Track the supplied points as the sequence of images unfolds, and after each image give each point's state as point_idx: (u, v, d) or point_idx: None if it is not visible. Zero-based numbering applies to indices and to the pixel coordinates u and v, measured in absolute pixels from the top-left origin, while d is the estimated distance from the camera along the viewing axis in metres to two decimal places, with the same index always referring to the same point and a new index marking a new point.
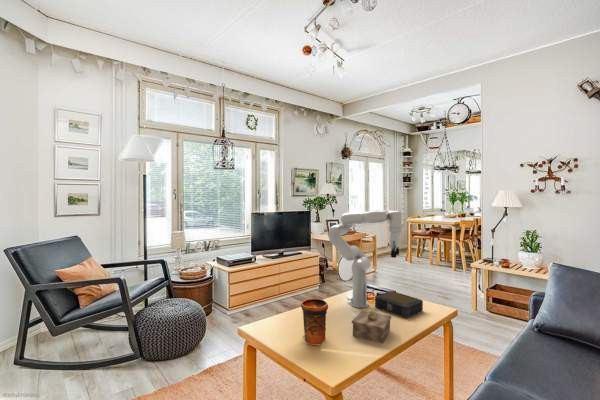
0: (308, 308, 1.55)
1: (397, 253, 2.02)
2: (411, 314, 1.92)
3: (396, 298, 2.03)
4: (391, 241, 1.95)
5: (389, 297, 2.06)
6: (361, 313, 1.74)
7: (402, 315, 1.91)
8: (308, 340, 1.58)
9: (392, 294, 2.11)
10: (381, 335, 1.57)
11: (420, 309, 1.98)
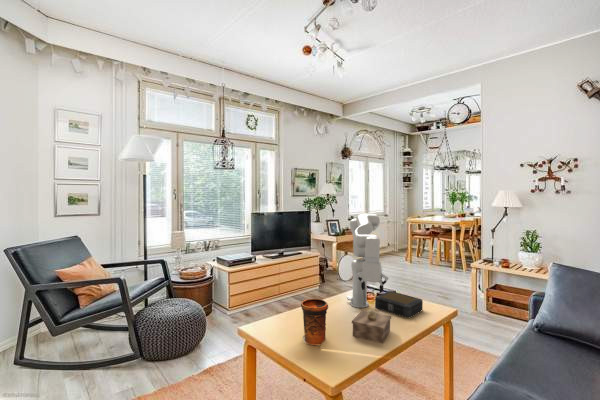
0: (308, 308, 1.55)
1: (364, 287, 1.69)
2: (412, 314, 1.92)
3: (396, 298, 2.03)
4: (380, 274, 1.63)
5: (389, 297, 2.05)
6: (361, 313, 1.74)
7: (404, 315, 1.91)
8: (308, 340, 1.58)
9: (391, 294, 2.11)
10: (381, 335, 1.57)
11: (420, 308, 1.99)
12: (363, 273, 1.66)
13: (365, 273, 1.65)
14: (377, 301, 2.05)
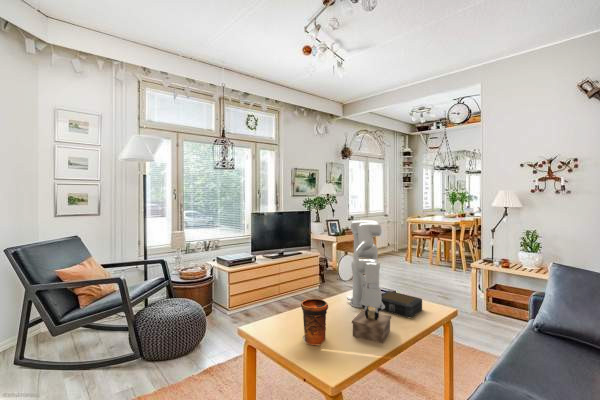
0: (308, 308, 1.55)
1: None
2: (414, 313, 1.93)
3: (397, 298, 2.03)
4: (380, 300, 1.63)
5: (389, 297, 2.05)
6: (361, 313, 1.74)
7: (406, 315, 1.91)
8: (308, 340, 1.58)
9: (391, 294, 2.11)
10: (381, 335, 1.57)
11: (420, 307, 2.00)
12: (363, 298, 1.66)
13: (365, 298, 1.66)
14: None
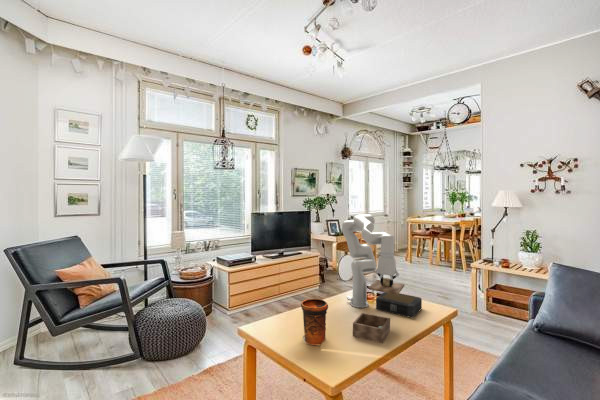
0: (308, 308, 1.55)
1: None
2: (415, 313, 1.94)
3: (397, 298, 2.03)
4: (395, 268, 1.77)
5: (390, 297, 2.05)
6: (377, 282, 1.89)
7: (408, 315, 1.91)
8: (308, 340, 1.58)
9: (390, 294, 2.11)
10: (381, 335, 1.57)
11: (420, 306, 2.02)
12: (378, 267, 1.81)
13: (380, 267, 1.80)
14: (378, 302, 2.03)
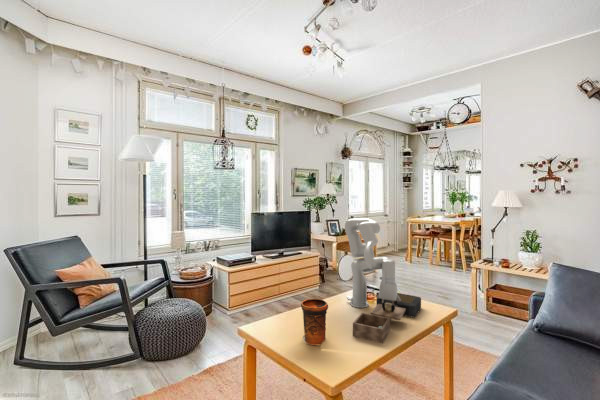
0: (308, 308, 1.55)
1: None
2: (416, 312, 1.94)
3: None
4: (396, 293, 1.79)
5: None
6: (378, 306, 1.90)
7: (409, 314, 1.92)
8: (308, 340, 1.58)
9: None
10: (381, 335, 1.57)
11: (420, 306, 2.03)
12: (380, 292, 1.83)
13: (382, 292, 1.82)
14: (379, 303, 2.02)
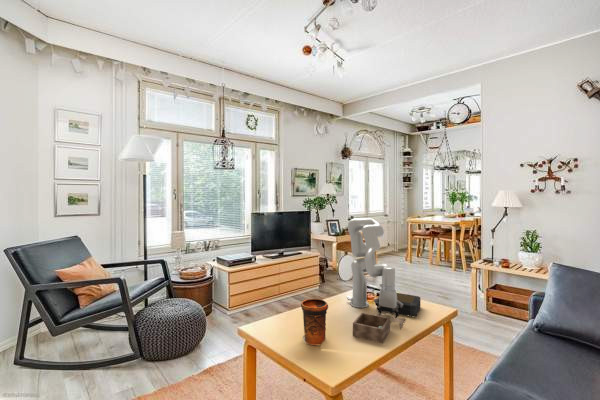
0: (308, 308, 1.55)
1: None
2: (417, 312, 1.95)
3: (398, 298, 2.03)
4: (396, 301, 1.80)
5: None
6: None
7: (410, 314, 1.92)
8: (308, 340, 1.58)
9: None
10: (381, 335, 1.57)
11: (419, 305, 2.04)
12: (380, 299, 1.83)
13: (382, 300, 1.82)
14: None
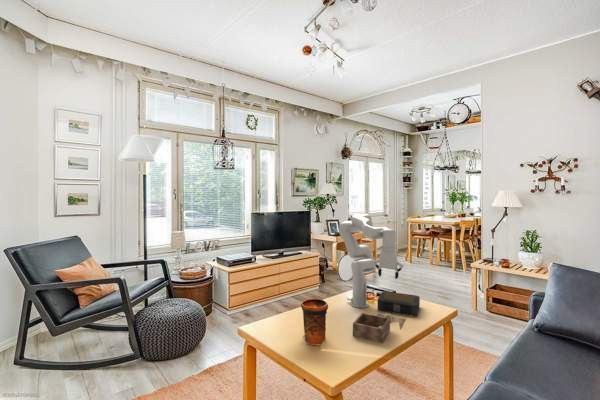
0: (308, 308, 1.55)
1: None
2: None
3: (398, 298, 2.03)
4: (396, 262, 1.80)
5: (390, 298, 2.04)
6: None
7: (412, 314, 1.93)
8: (308, 340, 1.58)
9: (389, 294, 2.11)
10: (381, 335, 1.57)
11: (419, 305, 2.05)
12: (380, 261, 1.84)
13: (382, 261, 1.83)
14: (381, 303, 2.01)
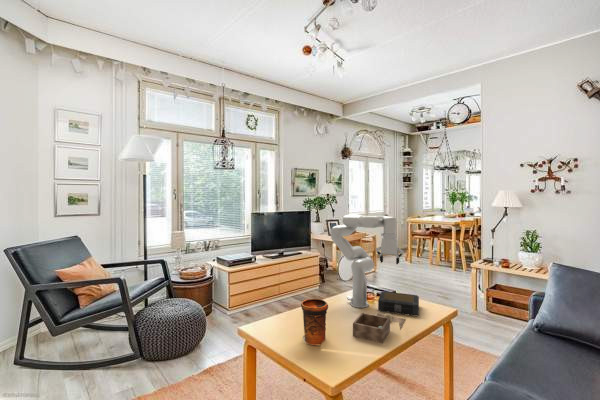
0: (308, 308, 1.55)
1: (382, 260, 1.96)
2: None
3: (398, 298, 2.03)
4: (397, 248, 1.89)
5: (391, 298, 2.04)
6: None
7: (413, 314, 1.93)
8: (308, 340, 1.58)
9: (388, 294, 2.10)
10: (381, 335, 1.57)
11: None
12: (382, 247, 1.93)
13: (383, 247, 1.92)
14: (381, 304, 2.00)
